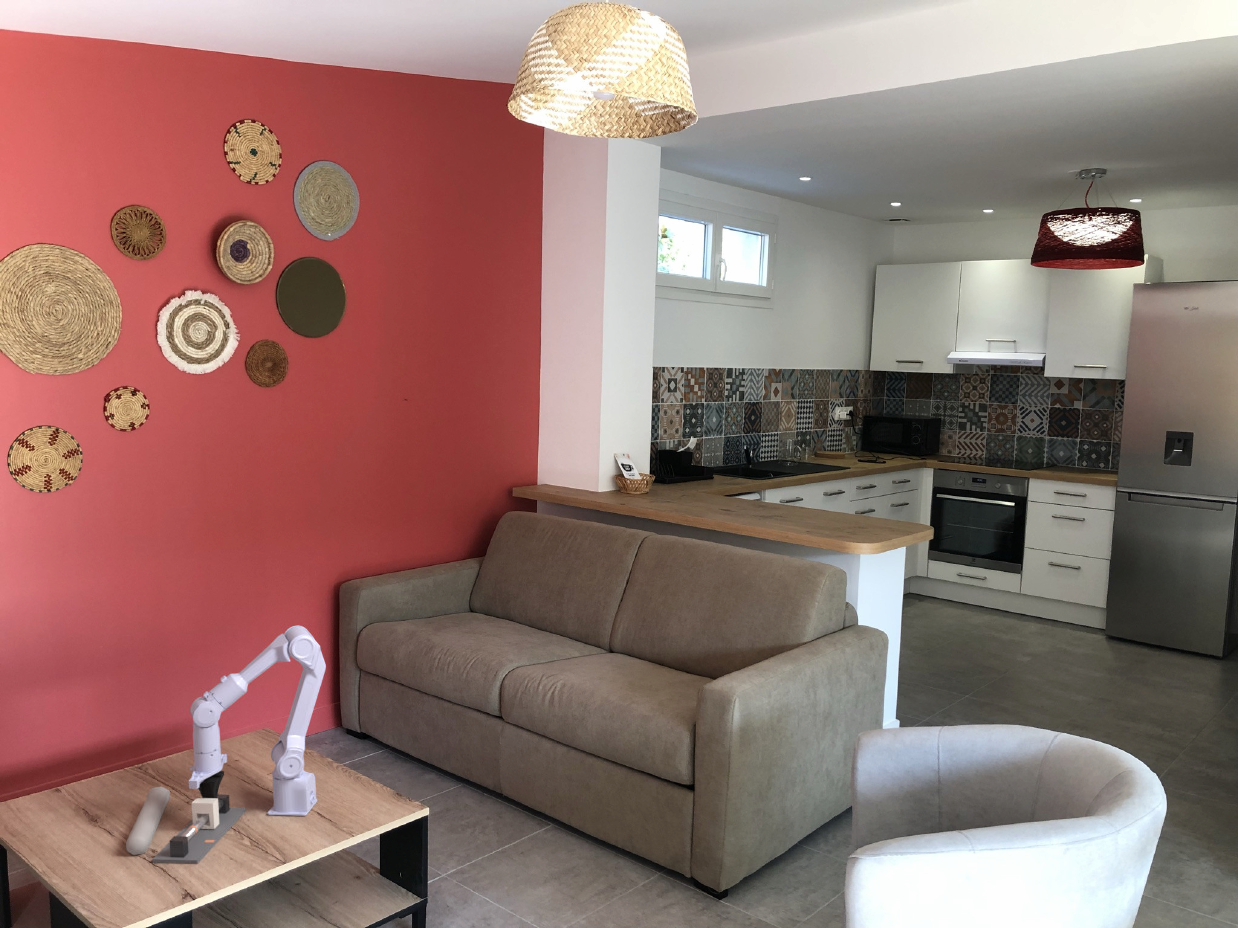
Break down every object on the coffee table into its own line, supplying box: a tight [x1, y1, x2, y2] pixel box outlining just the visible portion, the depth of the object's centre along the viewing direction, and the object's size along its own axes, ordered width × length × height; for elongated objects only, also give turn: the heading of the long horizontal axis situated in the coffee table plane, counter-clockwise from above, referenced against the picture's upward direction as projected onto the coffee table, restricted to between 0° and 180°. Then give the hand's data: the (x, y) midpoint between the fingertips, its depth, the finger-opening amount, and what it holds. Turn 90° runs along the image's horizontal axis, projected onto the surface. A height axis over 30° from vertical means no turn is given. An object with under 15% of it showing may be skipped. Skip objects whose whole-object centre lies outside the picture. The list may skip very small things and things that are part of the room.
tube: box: [125, 786, 171, 856], centre depth 225 cm, size 5×5×25 cm
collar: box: [191, 797, 219, 829], centre depth 224 cm, size 5×2×6 cm, turn 87°
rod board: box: [152, 793, 247, 865], centre depth 222 cm, size 10×24×5 cm, turn 177°
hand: (210, 804), depth 226 cm, fingers closed
